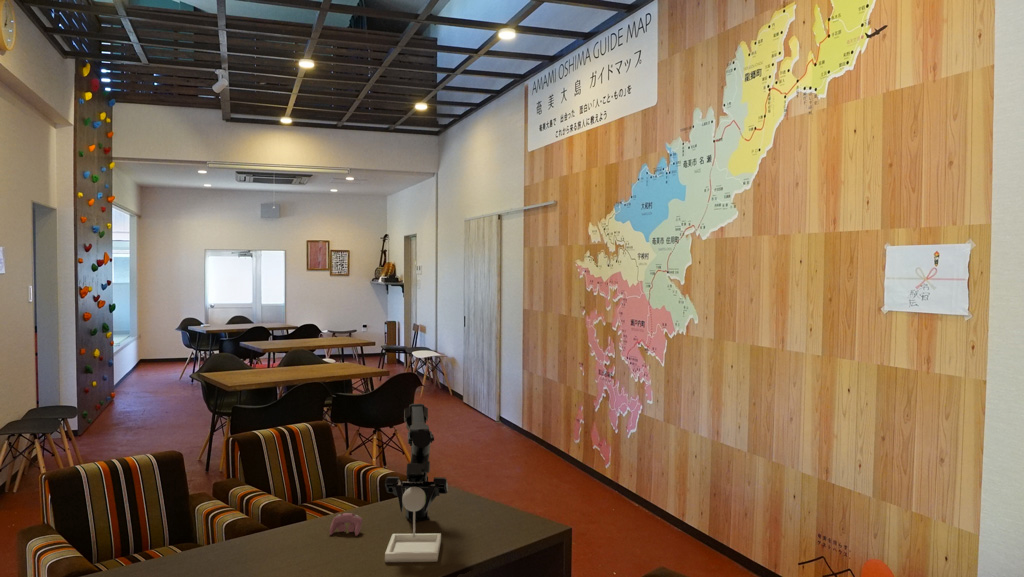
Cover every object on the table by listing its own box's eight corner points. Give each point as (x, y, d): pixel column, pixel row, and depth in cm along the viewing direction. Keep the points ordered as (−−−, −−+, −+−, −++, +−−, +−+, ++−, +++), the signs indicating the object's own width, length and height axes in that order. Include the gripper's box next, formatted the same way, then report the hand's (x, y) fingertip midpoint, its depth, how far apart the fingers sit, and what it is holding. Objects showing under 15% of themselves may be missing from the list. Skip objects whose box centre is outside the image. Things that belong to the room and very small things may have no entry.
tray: (392, 541, 208) (392, 533, 208) (440, 541, 208) (440, 533, 208) (384, 562, 193) (384, 553, 193) (437, 561, 193) (437, 553, 193)
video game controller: (361, 537, 215) (364, 514, 219) (357, 535, 211) (360, 512, 214) (332, 536, 216) (335, 513, 219) (327, 534, 212) (330, 511, 215)
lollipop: (426, 540, 198) (426, 490, 197) (402, 542, 196) (402, 491, 196) (425, 531, 205) (425, 482, 204) (401, 533, 203) (401, 484, 203)
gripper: (385, 450, 204) (377, 498, 193) (446, 451, 204) (442, 499, 193) (391, 468, 212) (383, 515, 201) (449, 469, 212) (445, 516, 201)
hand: (413, 511), depth 199 cm, fingers closed on lollipop, 7 cm apart
